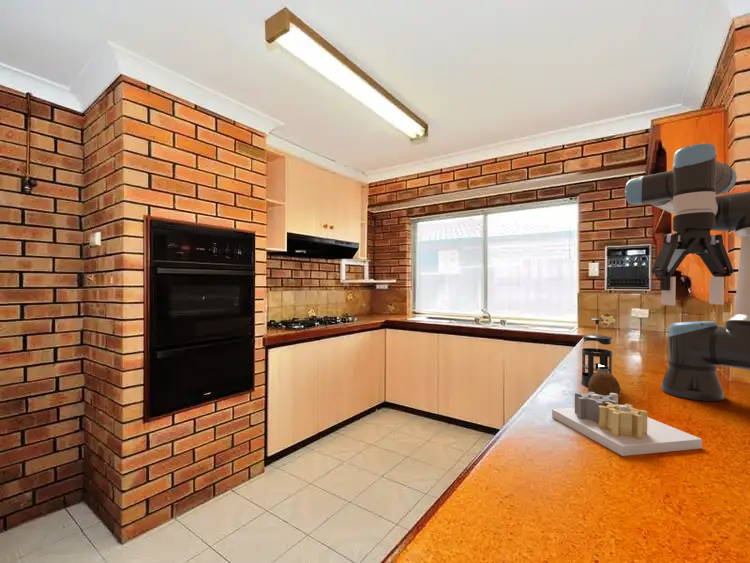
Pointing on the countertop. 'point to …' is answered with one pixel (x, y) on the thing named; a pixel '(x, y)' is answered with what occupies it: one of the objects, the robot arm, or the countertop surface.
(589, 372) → the french press
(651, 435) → the gear board
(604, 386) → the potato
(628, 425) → the brass gear
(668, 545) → the countertop surface
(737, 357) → the robot arm
